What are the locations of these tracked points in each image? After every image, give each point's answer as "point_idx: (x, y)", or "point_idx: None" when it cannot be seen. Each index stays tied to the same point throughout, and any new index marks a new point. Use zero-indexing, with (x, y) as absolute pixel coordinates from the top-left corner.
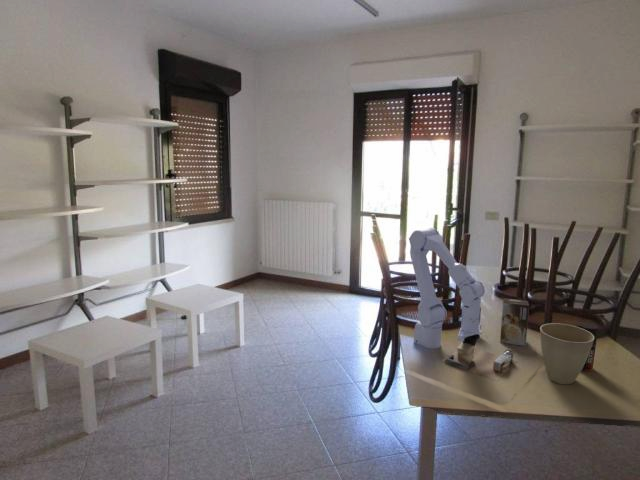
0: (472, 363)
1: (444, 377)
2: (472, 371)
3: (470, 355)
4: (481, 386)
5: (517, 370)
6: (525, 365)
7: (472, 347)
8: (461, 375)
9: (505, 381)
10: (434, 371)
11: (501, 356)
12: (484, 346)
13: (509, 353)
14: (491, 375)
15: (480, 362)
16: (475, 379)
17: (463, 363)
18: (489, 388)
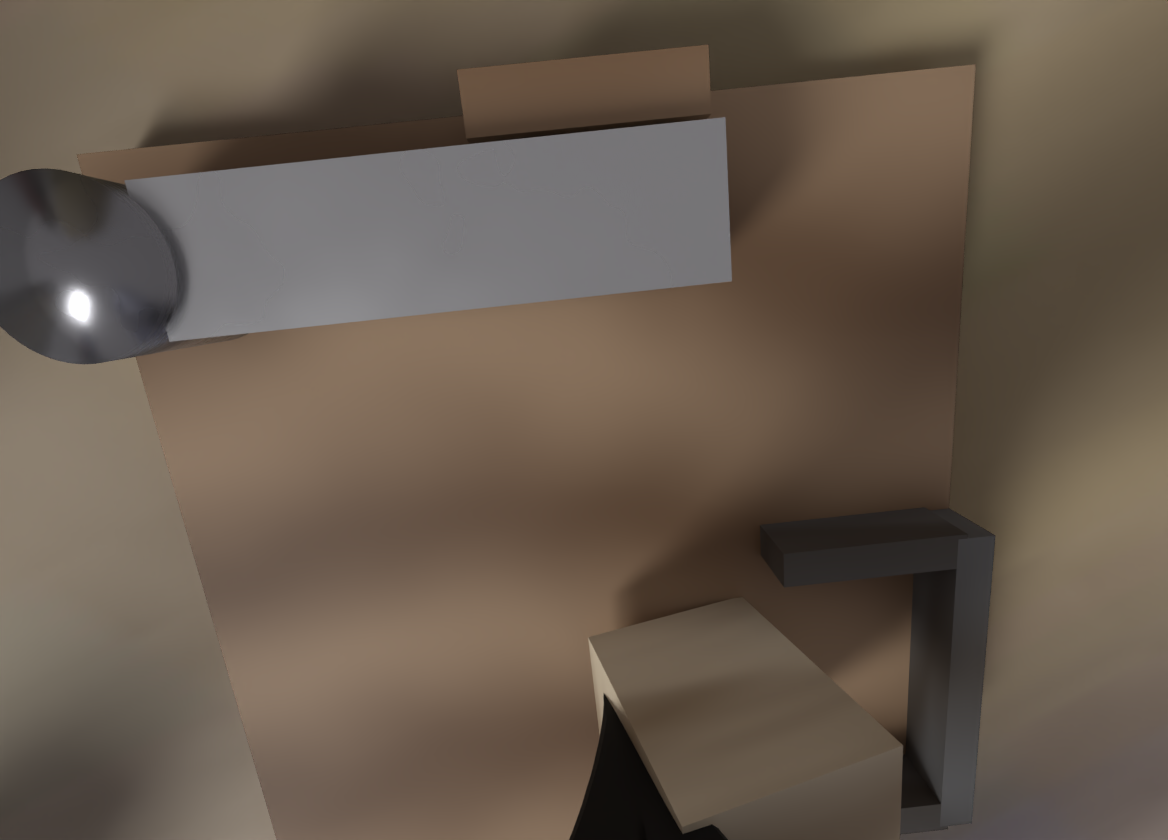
0: (837, 544)
1: (1163, 605)
2: (925, 455)
3: (751, 673)
4: (1112, 206)
5: (286, 78)
6: (13, 67)
7: (734, 788)
8: (995, 514)
9: (757, 39)
10: (1097, 737)
11: (398, 284)
12: (31, 740)
13: (135, 217)
14: (860, 214)
15: (594, 520)
16: (981, 353)
17: (791, 640)
18: (1100, 102)
